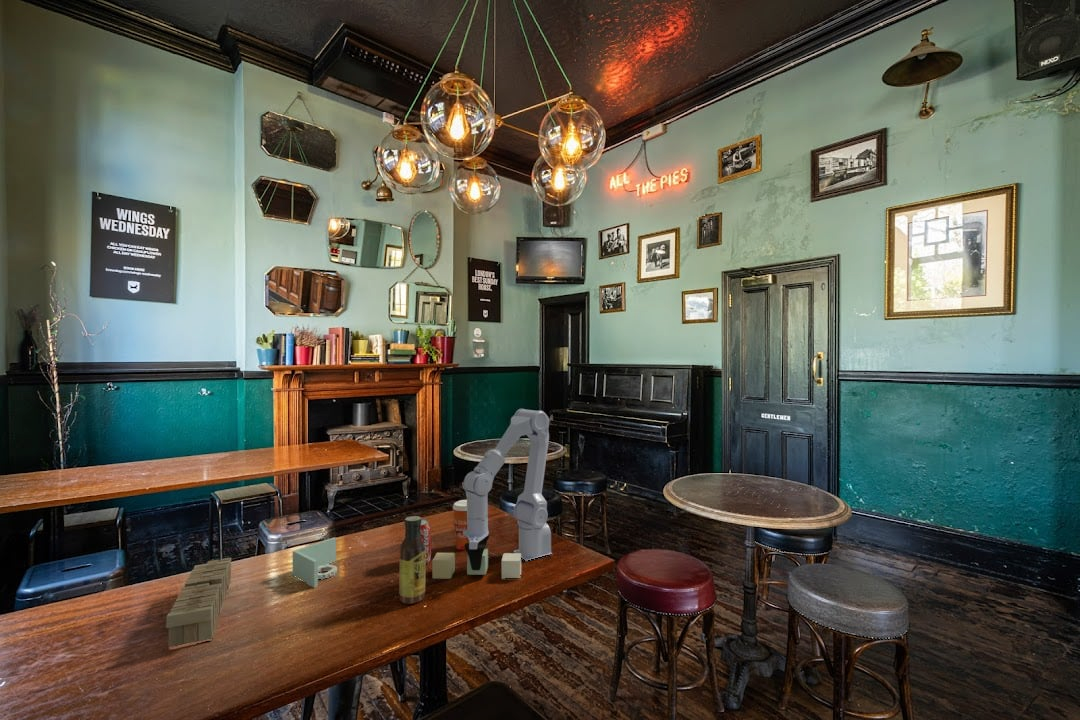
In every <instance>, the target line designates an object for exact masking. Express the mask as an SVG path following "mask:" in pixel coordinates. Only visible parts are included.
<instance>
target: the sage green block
mask: <svg viewBox="0 0 1080 720" xmlns="http://www.w3.org/2000/svg"><path fill="white" fill-rule="evenodd" d="M488 568H489V548H485V549H484V551H483V555H482V561H481V567H480V570H472V568H471V564H470V559H469V556H468V554H467V555H466V575H484V576H486V574H487V571H488Z"/></svg>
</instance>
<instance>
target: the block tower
mask: <svg viewBox="0 0 1080 720" xmlns="http://www.w3.org/2000/svg"><path fill="white" fill-rule="evenodd" d="M230 584H231V585H232V557H226V558H220V559H214V560H210V561H209V560H208V561H207V562H206V563H202V564H197V565H194V566H193V568H192V570H191V571H190V573H189V576H188V578H187V580H186V581H185V582H184V586H183V587H181V591H180V592H179V594H178V595H177V597H176V599H175V601H174V603H173V606H172V607H171V609H170V611H169V612H168V613H167V615H166V619H165V621H166V625H165V628H166V629H168V648H169V647H171V646H178V645H182V644H187V643H191V642H197V641H203V640H207V639H211V638H213V635H214V632H215V633H216V630H215V628H216V625H217V626H218V623H217V621H218V622H219V620H218V617H219V615H220V613H221V614H222V612H221V608H222V605H223V603H224V604H225V602H224V599H225V597H226V595H227V596H228V593H227V590H228V589H229V590H230V588H229V585H230ZM222 609H223V608H222ZM216 629H217V628H216ZM214 636H215V635H214ZM213 639H214V638H213Z"/></svg>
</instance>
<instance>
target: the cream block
mask: <svg viewBox="0 0 1080 720" xmlns="http://www.w3.org/2000/svg"><path fill="white" fill-rule="evenodd" d="M520 575H521V576H522V559H521V553H514V552H512V553H511V552H505V553H503V554H502V558H501V580H506V579H505V578H520V579H521V576H520Z"/></svg>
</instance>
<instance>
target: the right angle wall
mask: <svg viewBox="0 0 1080 720" xmlns="http://www.w3.org/2000/svg"><path fill="white" fill-rule="evenodd" d="M335 561H336V562H337V537H330V538H329V539H325V540H322V541H319V542H315V543H313V544H310V545H306V546H303V547H301V548H297V549H295V550H292V576H293V575H294V576H296V577H297V578H299V579H301V580H303V581H304V582H306V583H308V584H310V585H311V586H313V587H314V588H313V587H312V588H313V589H316V588H315V587H317V586H318V587H319V580H318V579H321V580H320V581H323V579H324V580H326V579H325V578H329V577H330V576H333V575H334V576H336V575H337V573H338V566H336V565H334V564H333V563H332V562H334V563H336V562H335ZM329 563H331V564H329ZM327 570H329V571H328V572H322V571H327ZM319 572H320V573H319ZM335 573H336V574H335ZM294 576H293V577H294ZM296 577H295V578H296ZM297 578H296V579H297ZM299 579H298V580H299ZM329 579H330V578H329ZM301 580H300V581H301ZM303 581H302V582H303ZM304 582H303V583H304ZM306 583H305V584H306ZM308 584H307V585H308ZM310 585H309V586H310ZM311 586H310V587H311ZM318 587H317V588H318Z"/></svg>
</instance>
